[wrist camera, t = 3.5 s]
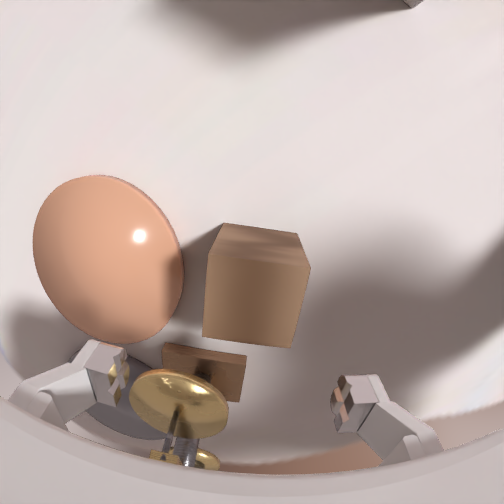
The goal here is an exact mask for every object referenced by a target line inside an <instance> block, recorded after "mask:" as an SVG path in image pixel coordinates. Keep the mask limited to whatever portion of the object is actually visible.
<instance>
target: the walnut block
mask: <svg viewBox="0 0 504 504" xmlns="http://www.w3.org/2000/svg"><path fill="white" fill-rule="evenodd" d="M310 269H311V268H310V265H309V262H308V260H307V257H306V255H305V252H304V250H303V247H302V244H301V242H300V239H299V237H298V234H297V233H291V232H285V231H278V230H271V229H265V228H258V227H251V226H244V225H236V224H229V223H223V225H222V227H221V229H220V231H219V233H218V235H217V237H216V239H215V241H214V243H213V245H212V247H211V249H210V251H209V253H208V262H207V273H206V286H205V299H204V314H203V329H202V337H207V338H213V339H220V340H226V341H233V342H240V343H248V344H256V345H264V346H273V347H283V348H291V344H292V341H293V337H294V333H295V329H296V326H297V322H298V318H299V314H300V310H301V306H302V302H303V298H304V294H305V290H306V286H307V282H308V278H309V274H310Z"/></svg>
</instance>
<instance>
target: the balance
mask: <svg viewBox="0 0 504 504" xmlns="http://www.w3.org/2000/svg"><path fill="white" fill-rule="evenodd" d="M246 358H247V356H245V355H238V354H230V353H223V352H217V351H211V350H204V349H199V348H193V347H187V346H182V345H177V344H172V343H167V342H165V345H164V347H163V349H162V364H163V369H154V370H150V371H146V372H144V373H142V374H141V375H139V376H138V377H137V378H136V380H135V381H134V383H133V385H132V387H131V389H130V392H129V401H130V404H131V406H132V408H133V410H134V411H135V412H136V414H137V415H138V416H139V417H140V418H141V419H142V420H143V421H145V422H146V423H147V424H149V425H150V426H152V427H154V428H155V429H157V430H159V431H161V432H164V433H166V434H167V436H166V439H165V443H164V446H163V450H162V452H159V451H155V450H152V449H151V452H150V457H149V459H153V460H158V461H162V462H167V463H171V464H176V465H182V466H187V467H193V468H200V469H206V470H214V471H218V470H219V467H220V460H219V459H218V458H217V457H216V456H215V455H213V454H212V453H210V452H208V451H205V450H202V449H199V448H198V444H199V439H200V438H207V437H211V436H213V435H216V434H218V433H219V432H221V431H222V430H223V429H224V428H225V426H226V424H227V419H228V409H229V408H228V404H227V401H231V402H239V401H240V395H241V390H242V384H243V379H244V373H245V368H246ZM173 436H176V437H177V438H176V442H175V446H174V447H170V446H171V443H172V439H173Z"/></svg>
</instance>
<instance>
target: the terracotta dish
mask: <svg viewBox="0 0 504 504" xmlns="http://www.w3.org/2000/svg"><path fill="white" fill-rule="evenodd" d="M33 255H34V261H35V266H36V269H37V273H38V276H39V278H40V281H41V283H42V286H43V288H44V290H45V292H46V293H47V295H48V297H49V298H50V300H51V301H52V303H53V304H54V305H55V307H56V308H57V309H58V310H59V312H60V313H61V314H62V315H63V316H64V317H65V318H66V319H67V320H68V321H69V322H71V323H72V324H73V325H74V326H76V327H77V328H78V329H80V330H81V331H83V332H85V333H86V334H88V335H90V336H93V337H95V338H97V339H100V340H103V341H107V342H111V343H119V344H130V343H136V342H140V341H143V340H146V339H148V338H150V337H152V336H154V335H155V334H157V333H158V332H159V331H160V330H162V328H163V327H164V326H165V325H166V324H167V323H168V321H169V320H170V318H171V316H172V315H173V313H174V311H175V309H176V307H177V304H178V302H179V300H180V297H181V293H182V289H183V282H184V265H183V258H182V253H181V249H180V246H179V242H178V240H177V237H176V235H175V232H174V230H173V228H172V226H171V225H170V223H169V221H168V219H167V218H166V216H165V215H164V213H163V212H162V211H161V209H160V208H159V207H158V206H157V205H156V204H155V202H154V201H153V200H152V199H151V198H150V197H149V196H147V195H146V194H145V193H144V192H143V191H141V190H140V189H138V188H137V187H135V186H134V185H132V184H130V183H128V182H126V181H124V180H122V179H119V178H116V177H112V176H106V175H89V176H85V177H80V178H76V179H72V180H70V181H68V182H65V183H63V184H62V185H60V186H59V187H57V188H56V189H55V190H54V191H53V192H52V193H51V194H50V195H49V196H48V197H47V198H46V200H45V201H44V203H43V205H42V206H41V208H40V210H39V213H38V215H37V218H36V222H35V225H34V232H33Z"/></svg>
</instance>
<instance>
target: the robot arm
mask: <svg viewBox="0 0 504 504" xmlns="http://www.w3.org/2000/svg"><path fill="white" fill-rule="evenodd" d="M126 358H127V351H126V349H125V348H122V347H118V346H115V345H111V344H108V343H104V342H100V341H96V340H93V339H90V340H88V341H87V342H86V344H85V345H84V346H83V348H82V349H81V351H80V352H79V353H78V355H77V356H76V357H75V359H74V360H73V361H72V363H65V364H63V365H61V366H58V367H56V368H53V369H51V370H48V371H46V372H44V373H41V374H39V375H36V376H34V377H31V378H29V379H26V380H24V381H22V382H21V384H20V385H19V386H18V387H17V389H16V390H15V391H14V393H13V394H12V395H11V397H10V398H9V400H8V401H7V400H6V399H4V398H3V397H1V396H0V504H504V429H499V430H496V431H494V432H492V433H490V434H487V435H485V436H482V437H480V438H478V439H475V440H473V441H470V442H467V443H465V444H462V445H459V446H456V447H453V448H450V449H447V450H445V451H444V449H443V447H442V445H441V443H440V441H439V439H438V437H437V435H436V433H435V431H434V429H432V428H431V427H429V426H428V425H427V424H425V423H424V422H422V421H421V420H419V419H418V418H416V417H415V416H414V415H412V414H411V413H409V412H408V411H406V410H405V409H404V408H402V407H401V406H399V405H398V404H397V403H395V402H391V401H390V399H389V397H388V395H387V393H386V391H385V389H384V386H383V384H382V382H381V380H380V378H379V376H378V375H377V374H365V375H341V376H340V377H339V380H338V387H337V388H336V389H334V390H333V393H332V395H331V401H330V403H331V410H332V412H333V413H334V414H335V415H336V417H335V419H334V422H335V426H336V430H337V433H349V432H357V434H358V435H359V436H360V437H361V438H362V439H363V440H364V441H365V442H366V443H367V444H368V445H369V446H370V447H371V448H372V449H373V450H374V451H375V453H376V454H377V455H378V456H379V457H380V458H381V459H382V460H383V462H382V463H381V464H380V465H379V466H378V467H374V468H367V469H361V470H353V471H345V472H335V473H323V474H304V475H264V474H244V473H233V472H223V471H214V470H206V469H200V468H193V467H187V466H182V465H176V464H171V463H167V462H162V461H158V460H153V459H149V458H145V457H141V456H138V455H134V454H130V453H127V452H124V451H120V450H117V449H113V448H111V447H108V446H105V445H102V444H99V443H96V442H93V441H91V440H88V439H86V438H83V437H80V436H78V435H75V434H73V433H71V432H69V431H68V429H67V427H66V425H65V423H67V422H68V421H70V420H71V419H73V418H74V417H76V416H77V415H79V414H80V413H82V412H83V411H85V410H86V409H88V408H89V407H91V406H92V405H94V404H95V403H97V402H100V403H103V404H107V405H110V406H114V407H117V404H118V402H119V400H120V398H121V396H122V394H121V389H123V388H125V387H126V385H127V383H128V379H129V365H128V363H127V362H126V361H125V360H126Z"/></svg>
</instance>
